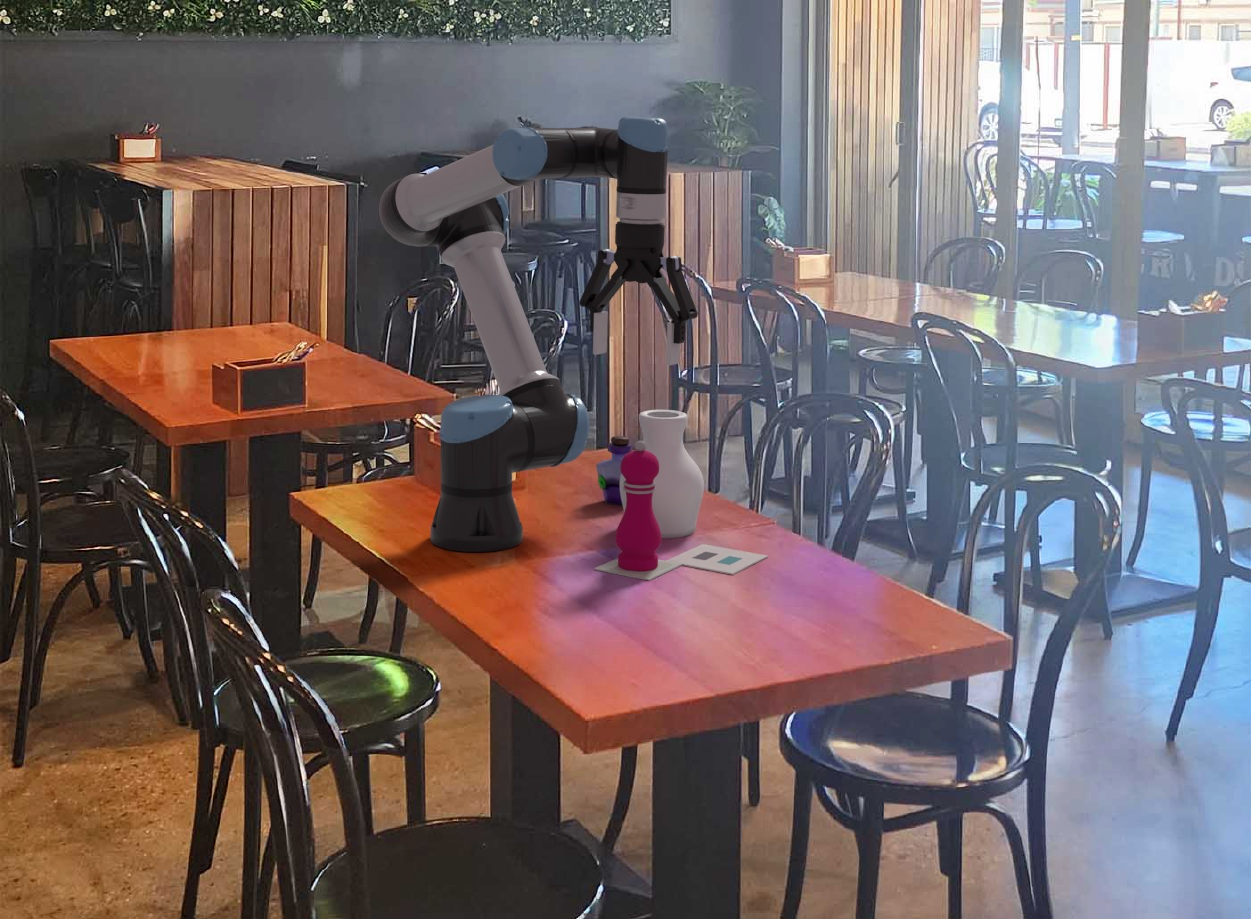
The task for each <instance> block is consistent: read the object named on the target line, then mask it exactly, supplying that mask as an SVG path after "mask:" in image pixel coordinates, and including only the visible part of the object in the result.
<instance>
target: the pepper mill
mask: <svg viewBox="0 0 1251 919" xmlns="http://www.w3.org/2000/svg"><path fill="white" fill-rule="evenodd" d="M634 449H635V450H632V451H631V452H629V453H627V454H626V455H625V456H624V457H623V459H622V461H621V467H620V468H621V473H622V475H623V476H624V477H625V479H626V480H625V481H624V482H623V484H624V488H623V490H624V491H625V492H626V499H627V500H626V509H625V513H624V512H623V514H622V517H621V520H620V521H619V524H618V525H617V528H616V532H615V539H614V541H615V544H616V546H617V547H618V549H619V550H620V552H619V553H618V555H617V558H618V566H619V567H620V568H622V569H625V570H629V571H649V570H653V569H655V568H657V566H658V559H659V555H658V553H656V551H657V550H658V549H659V548H660V546H661V545H662V539H663V538H661V531H660V527H659V525H658V523H657V520H656V518H655V515H654V512H653V508H652V495H653V492H654V491H655V490H656V488H655V485H656V483H655V481H653V480H654V478H655V477H656V476H657V475H658V473H659V462H658V459H657V458H656V456H655V455H654V454H652V453H651V452H649V451H645V449H646V444H645V442H643V440H638V441H636V442H635V443H634Z"/></svg>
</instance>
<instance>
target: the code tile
mask: <svg viewBox="0 0 1251 919" xmlns="http://www.w3.org/2000/svg"><path fill="white" fill-rule="evenodd" d="M767 558H769V555H766V554H761V553H755V552H750V551H745V550H738V549H733V548H727V547H721V546H715V545H711V544H706V543H701V544H699V545H698V546H695V547H693V548H691V549H688V550H687V551H684V552H682V553H679V554H678V555H675V556H673V557H671V558H669V559H667V560H665V561H670V562H675V563H680V564H682V566H684V567H689V568H694V569H700V570H704V571H710V572H715V573H721V574H727V575H731V576H734V575H736V574H737V573H740V572H742V571H743V570H745V569H748V568H750V567H752V566H754V565H755V564H757V563H759V562H761V561H763V560H766V559H767Z"/></svg>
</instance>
